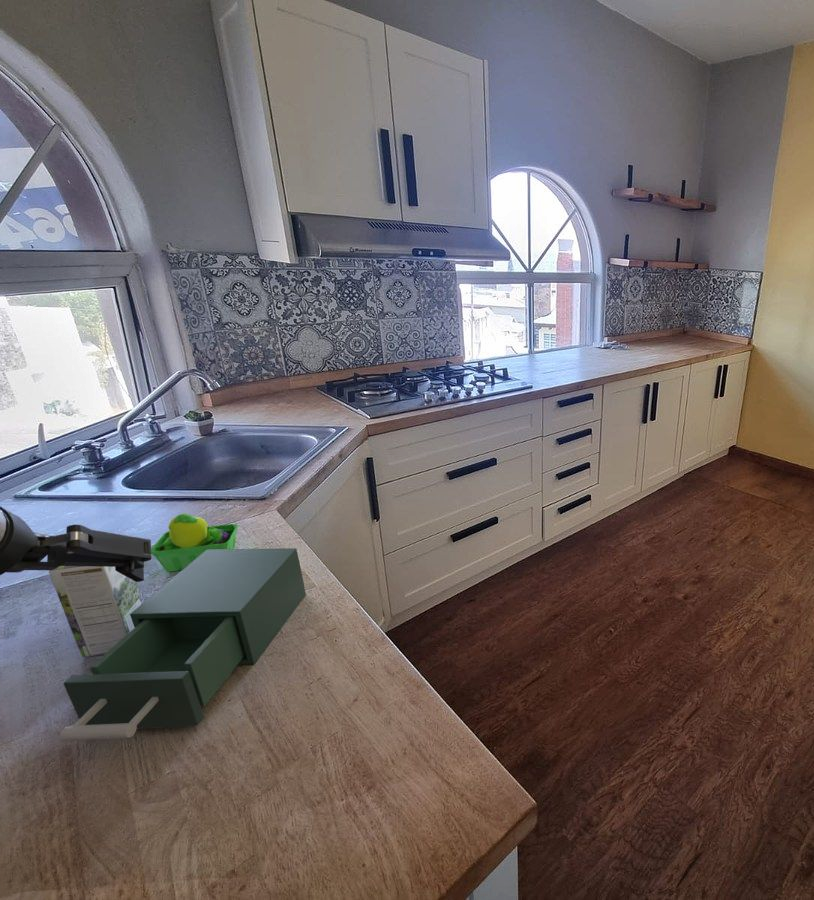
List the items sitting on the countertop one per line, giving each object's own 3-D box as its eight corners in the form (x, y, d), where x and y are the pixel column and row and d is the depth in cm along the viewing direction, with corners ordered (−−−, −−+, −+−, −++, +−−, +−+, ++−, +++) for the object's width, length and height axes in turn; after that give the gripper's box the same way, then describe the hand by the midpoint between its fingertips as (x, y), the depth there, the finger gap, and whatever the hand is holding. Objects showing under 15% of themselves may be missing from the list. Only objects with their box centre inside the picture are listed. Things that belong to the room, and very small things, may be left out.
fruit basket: (244, 545, 97) (231, 493, 93) (230, 570, 89) (216, 515, 85) (173, 554, 93) (156, 500, 89) (152, 582, 86) (132, 524, 82)
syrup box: (103, 631, 74) (69, 547, 69) (152, 623, 76) (123, 540, 71) (81, 658, 69) (44, 570, 64) (135, 649, 71) (102, 562, 66)
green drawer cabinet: (254, 664, 69) (240, 611, 66) (149, 668, 68) (129, 614, 65) (306, 594, 84) (296, 548, 81) (220, 596, 83) (206, 549, 79)
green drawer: (168, 765, 55) (149, 715, 52) (44, 771, 54) (18, 721, 51) (264, 639, 73) (253, 598, 70) (172, 642, 72) (158, 600, 69)
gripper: (131, 474, 52) (192, 534, 69) (-276, 527, 40) (-80, 583, 57) (133, 543, 49) (195, 587, 67) (-300, 621, 38) (-87, 650, 55)
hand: (68, 585), depth 62 cm, fingers open, 13 cm apart
